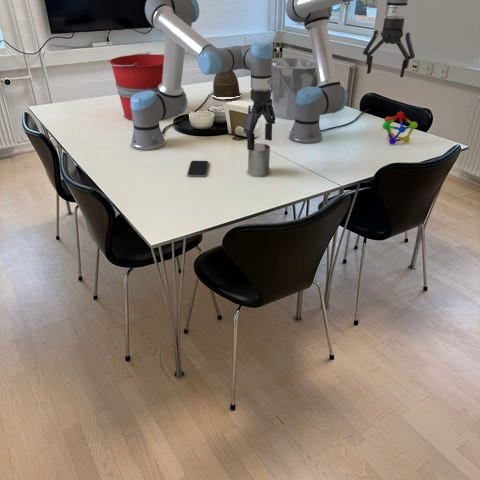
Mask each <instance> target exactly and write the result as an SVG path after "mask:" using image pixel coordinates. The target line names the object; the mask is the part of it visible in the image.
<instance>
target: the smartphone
mask: <svg viewBox="0 0 480 480" xmlns="http://www.w3.org/2000/svg"><path fill="white" fill-rule="evenodd" d="M208 166H209V161H208V160H191V161H190V164H189V168H188V172H187V176H188V177H206V176H207V170H208Z"/></svg>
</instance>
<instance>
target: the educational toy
mask: <svg viewBox="0 0 480 480" xmlns="http://www.w3.org/2000/svg"><path fill="white" fill-rule="evenodd" d="M397 119H399V124H400V125H399V127H398V126H393V125H391V124H392V123H394V122H395V121H396V120H397ZM403 120H404V121H405V122H407V123H408V124H409V125H407V126H404V123H403ZM417 127H418V122H417V121H411V120H410V119H409V118H408V117H406V116H405V113H404V112H403V111H401V110H400V111H398V112H397V114H396V115H394V116H391V117H390V116H386V117H385V118H384V122H383V123H382V129H383V130H386V132H387V138H388V142H389V145H395V144H396V143H397V142H402V141H403V142H404V143H409V142H410V140H411V138H410V136H411V134H412V132H413V131H414V130H415V129H417ZM392 129H393V130H397V131H398V132H396V134H395V133H394V132H392ZM408 129H409V131H408V133H407V134H406V135H404V136H401V134H403V133H405V132H406V130H408ZM399 135H400V136H399Z"/></svg>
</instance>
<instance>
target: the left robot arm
mask: <svg viewBox="0 0 480 480" xmlns="http://www.w3.org/2000/svg"><path fill="white" fill-rule="evenodd" d="M144 14H145V17H146V19H147V21H148V23H149V24H150V25H151V27H153V28H154V29H155V30H157V31H158V32H163V33H165V40H164V41H165V42H164V53H163V55H164V64H163V75H162V83H161V84H159V86H158V93H155V92H154V91H142V92H138V93H136V94H134V95H133V96H132V97H131V110H132V118H133V120H132V125H133V132H132V135H131V142H130V143H131V147H132V148H134V149H135V150H141V151H151V150H153V151H154V150H157V149H161V148H163V147H164V146H165V144H166V140H165V137H164V135H163V134H164V133H165V130H166V129H168V128H169V127H172V126H173V125H175V124H178V123H179V122H181V121H183V120H185V119H187V118H188V117H189V116H188V115H189V114H187V115H186V116H184V117H182V118H180V119H178V120H176V121H174V122H172V123H170V124H168V125H166V126H165V127H164V128H163V129H162V130H161V127H160V121H161V120H160V119H162V120H165V119H164V118H166V119H169V118H171V117H172V118H173V117H177V116H180V115H182V114H184V113H185V111H186V110H187V108H188V98H187V97H188V96H187V94H186V92H185V90H184V87H183V86H182V80H183V79H182V78H183V72H184V64H185V53H186V52H187V53H188V54H189V55H190V56H192V57H193V58H194V59H195V60H196V61H197V66H198V69H200V72H201V73H202V74H204V75H207V76H209V75H211V76H212V75H213V76H215V75H216V74H218V73H222V72H227V71H233V72H234V71H237V70H248V71H250V100H251V101H252V102H253V103H252V105H248V107H247V108H248V109H247V114H246V119H245V124H244V127H243V134H244V133H245V134H246V141H247V142H246V143H247V144H246V146H247V147H246V148H247V151H248V150H252V151H254V144H255V139H256V138H255V137H256V136H255V133H254V132H255V129H256V127H257V124H258V122H259V119H260V118H261V117H262V116H263V118H264V121H265V125H264V126H265V127H264V140H265V141H270V142H271V141H272V140H273V125H275V124H276V119H277V118H276V115H275V114H274V109H273V102H272V96H271V90H270V88H271V83H272V81H271V70H272V59H273V57H274V56H273V46H272V44H271V43H269V42H253V43H251V45H250V47H247V46H241V45H230V46H229V47H228V48H223V49H218V48H217V47H216V46H215V45H214V44H212V43H211V42H210V41H208V40H207V39H206V38H205V37H203V36H202V35H201V34H200V33H199V32H197V31H196V29H194V28H193V23H195V22H197V20H198V19H199V16H200V6H199V2H198V1H197V0H146V1H145V5H144ZM208 96H209V94H208V95H207V96H206V98H205V100H204V101H203V102H202V104H200V105H199V106H198V107H197V108H196V109H195V110H194V111H196V112H197V111H199V110H200V109H201V108H202V107H203V106H204V105H205V104H206V102H207V101H208V99H209V97H210V96H209V97H208ZM168 117H169V118H168Z"/></svg>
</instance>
